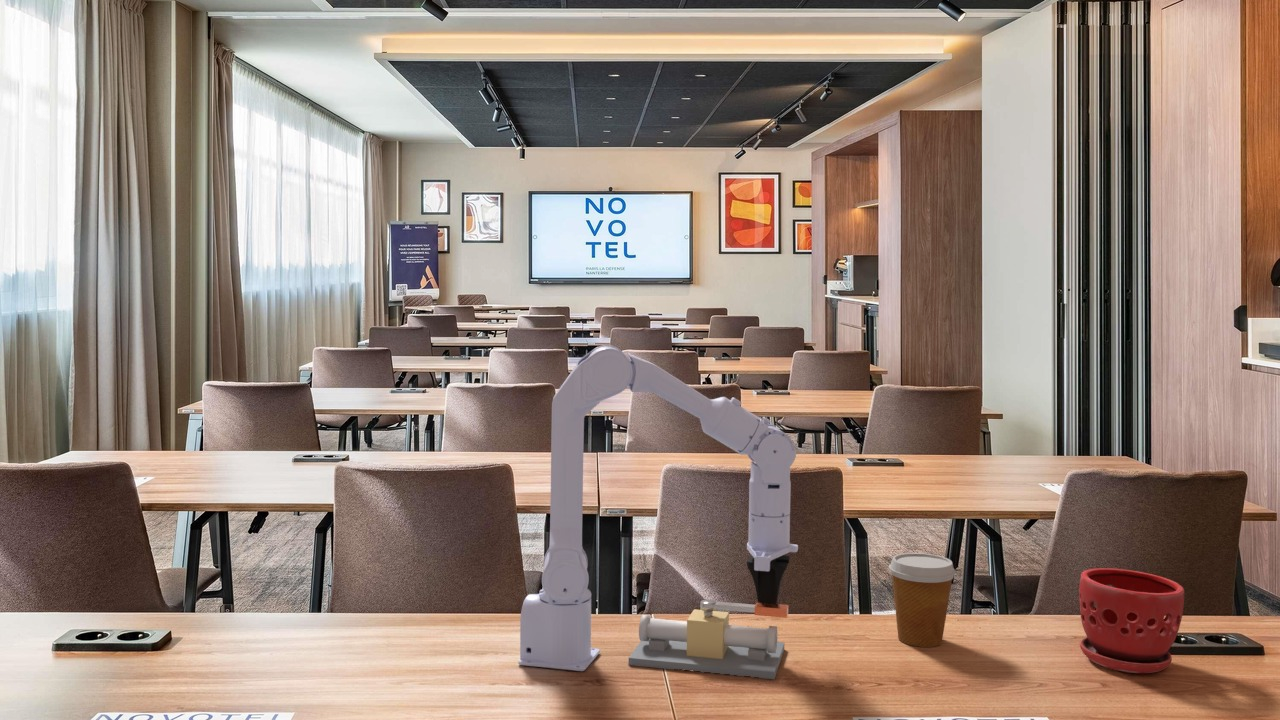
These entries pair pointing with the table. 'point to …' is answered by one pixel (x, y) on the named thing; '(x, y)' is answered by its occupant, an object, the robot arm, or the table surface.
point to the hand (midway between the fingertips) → (767, 608)
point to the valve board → (708, 664)
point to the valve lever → (747, 608)
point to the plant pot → (1129, 619)
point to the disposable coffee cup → (921, 596)
